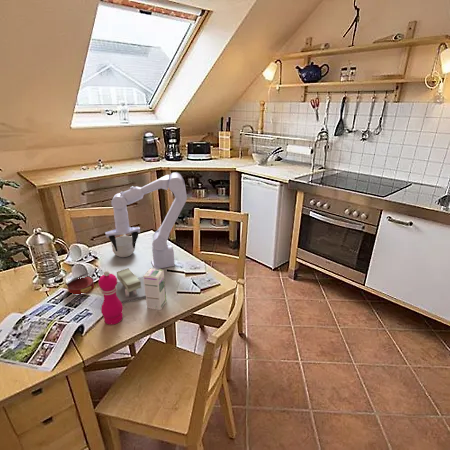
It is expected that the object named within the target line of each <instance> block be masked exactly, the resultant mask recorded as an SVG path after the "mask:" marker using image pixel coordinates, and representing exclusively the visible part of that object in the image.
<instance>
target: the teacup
mask: <svg viewBox="0 0 450 450" xmlns="http://www.w3.org/2000/svg"><path fill="white" fill-rule="evenodd" d="M115 239H116V246H117V251H116V250H115V247H114V245H113V244H112V242H111V241H110V244H111V248H112V252H113V254H114V255H115V256H117V257H119V258H127V257H129V256H131V255H132V254H133V253H134V252H135V250H136V247H135V248H133V244H132V235H131V236H130V235H127V234H124V235H120V236H116V237H115Z"/></svg>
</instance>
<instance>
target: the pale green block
mask: <svg viewBox="0 0 450 450" xmlns="http://www.w3.org/2000/svg"><path fill="white" fill-rule="evenodd" d="M116 278H117V281H118V282H121V283H122V284H123V286H124V287H125V288H126V289H127V290H128V292H131V291H133V290H136V289H139V288H141V282H140V280H139V279H138V278H139V277H137V276H136V275H135V273H134V272H133V271H132V270H130V268H125V269H121V270H118V271H116Z"/></svg>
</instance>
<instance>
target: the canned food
mask: <svg viewBox="0 0 450 450" xmlns="http://www.w3.org/2000/svg"><path fill="white" fill-rule="evenodd" d="M89 274H90V272H87V273H83V274H80V275H79V277H78V276H76V277H74V278H72V279H70V280H69V281H67V282H66V283H65V284H66V285H67V291H68V293H69V292H70V293H73V294H81V293H86V294H88V293H90V292H91V291H93V290H94V288H95V283H94V277H92V276H89ZM82 276H87V277H85V278H81V279H80V277H82ZM78 278H79V279H78ZM70 293H69V294H70Z"/></svg>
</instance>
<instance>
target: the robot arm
mask: <svg viewBox="0 0 450 450" xmlns="http://www.w3.org/2000/svg"><path fill="white" fill-rule="evenodd" d="M160 189H162V190H166V191H168V189H169V190H170V192H172V193H173V195H174V197H175V198H174V200H173V201H172V204H171V205H170V207H169V209H168V211H167V214H166V215H165V217H164V220H163V221H162V223H161V225H160V226H159V227H158V228H157V230H156V231H154V232H153V234H152V244H151V245H152V247H151V248H152V250H151V251H152V260H151V264H152V267H153V268H155V269H165V268H170V267H174V265H175V264H176V263H175V251H174V248H173V246H172V244H168V243H167V242H168V240H169V237H170V234H171V231H172V229H173V227H174V225H175V224H176V221H177V219H178V217H179V216H180V214H181V212H182V211H183V209H184V206H185V204H186V202H187V199H188V195H187V190H186V184H185V180H184V177H183V176H182V174H181V173H180V172H177V171H176V172H172V173H170V174H165V175H164V176H161V177H160V178H158V179H155V180H153V181H151V182H150V183H148V184H145V185H143V186H138V185H137V186H133V185H132V186H130V187H129V189H127V190H124V191H120V192H118V193H116V194H114V196H113V198H111V202H110V203H111V207H112V208H113V209H112V210H113V218H114V225H115V229H111V230H109V231H105V232H104V233H105V237H106V238H107V239H109V242H110V243H111V242H112V244H113V245H114V247H115V250H116V251H117V246H116V239H115V238H116V237H117V236H123V235H128V234H129V235H130V234H131V237H132V244H133V248H135V249H136V243H137V239H138V238H139V233H141V227H139V226H136V227H135V226H132V227H131V226H130V220H129V213H128V207H127V205H128V206H129V205H131V204H133V203H135V202H139V201H140V200H143V198H144V195H147V194H149V193H152V192H154V191H155V192H156V191H157V190H160ZM112 244H111V245H112Z"/></svg>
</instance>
